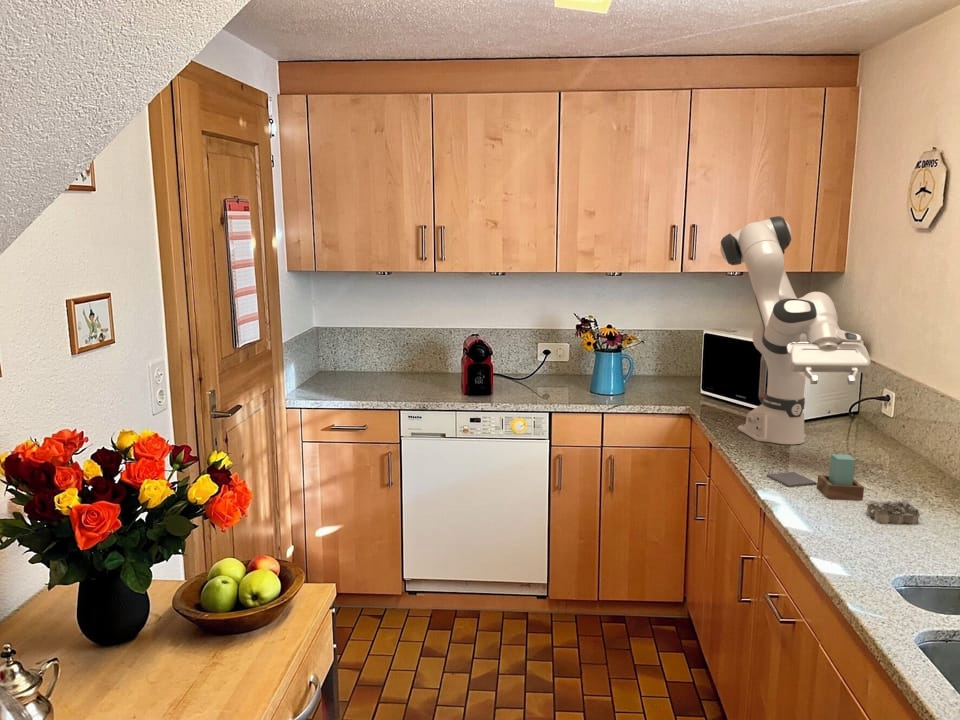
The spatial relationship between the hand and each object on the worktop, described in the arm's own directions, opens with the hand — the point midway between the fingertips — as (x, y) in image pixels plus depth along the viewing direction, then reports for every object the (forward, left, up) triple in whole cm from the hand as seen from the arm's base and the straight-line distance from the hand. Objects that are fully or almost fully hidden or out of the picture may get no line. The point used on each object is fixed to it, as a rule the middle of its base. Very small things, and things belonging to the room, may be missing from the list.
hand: (833, 383), depth 204 cm
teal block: (+11, -4, -27) cm, 29 cm away
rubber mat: (-1, -9, -27) cm, 28 cm away
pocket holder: (+11, -4, -27) cm, 29 cm away
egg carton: (+28, -4, -27) cm, 39 cm away
